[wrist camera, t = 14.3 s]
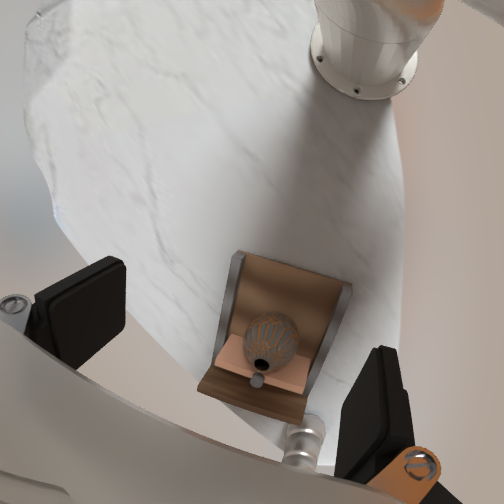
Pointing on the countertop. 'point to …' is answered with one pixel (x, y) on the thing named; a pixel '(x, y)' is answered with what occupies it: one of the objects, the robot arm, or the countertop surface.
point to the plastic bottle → (304, 443)
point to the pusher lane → (282, 301)
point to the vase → (270, 342)
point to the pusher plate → (285, 377)
